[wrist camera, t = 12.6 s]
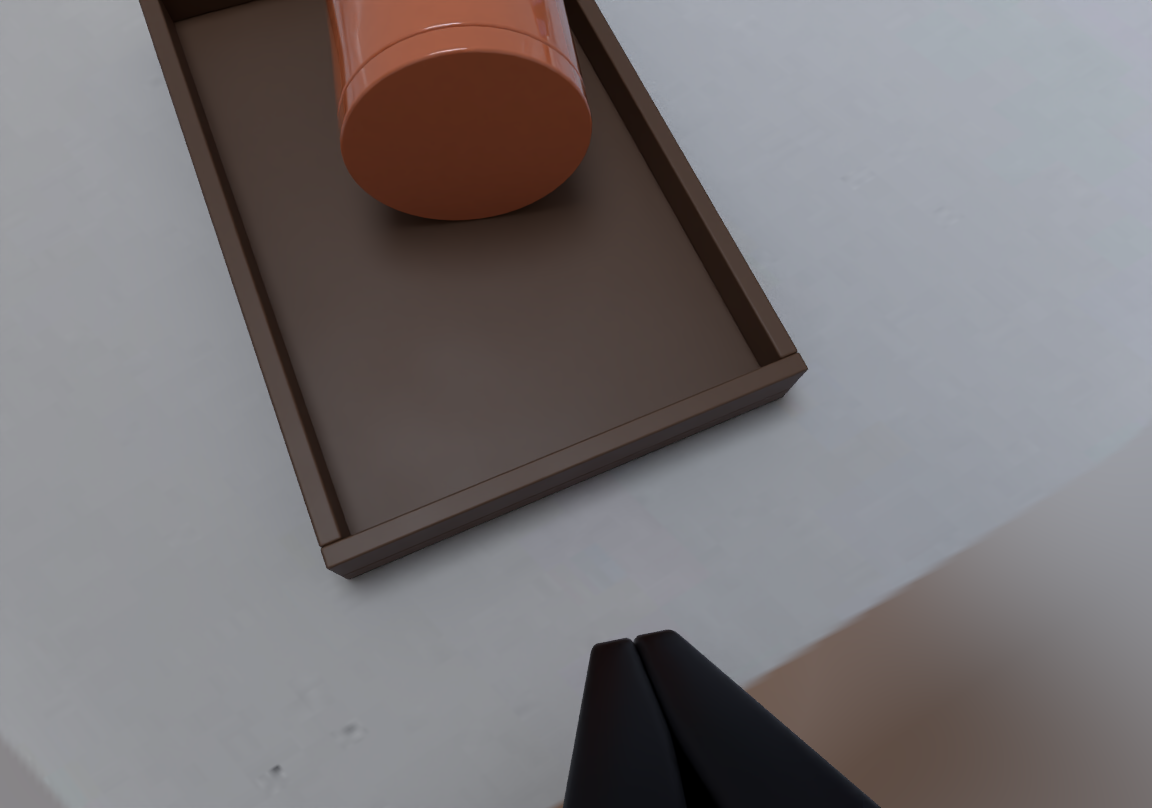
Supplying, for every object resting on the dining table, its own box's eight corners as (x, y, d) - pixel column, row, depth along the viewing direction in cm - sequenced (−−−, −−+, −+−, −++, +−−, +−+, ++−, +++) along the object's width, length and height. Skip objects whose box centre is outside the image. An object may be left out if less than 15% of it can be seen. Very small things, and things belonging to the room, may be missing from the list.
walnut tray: (784, 396, 23) (809, 368, 21) (347, 580, 21) (326, 569, 19) (525, -64, 30) (524, -122, 27) (163, 33, 27) (131, -23, 25)
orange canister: (618, 49, 18) (542, -239, 22) (323, 50, 17) (292, -260, 20) (570, 215, 25) (517, -28, 28) (353, 228, 23) (326, -32, 27)
